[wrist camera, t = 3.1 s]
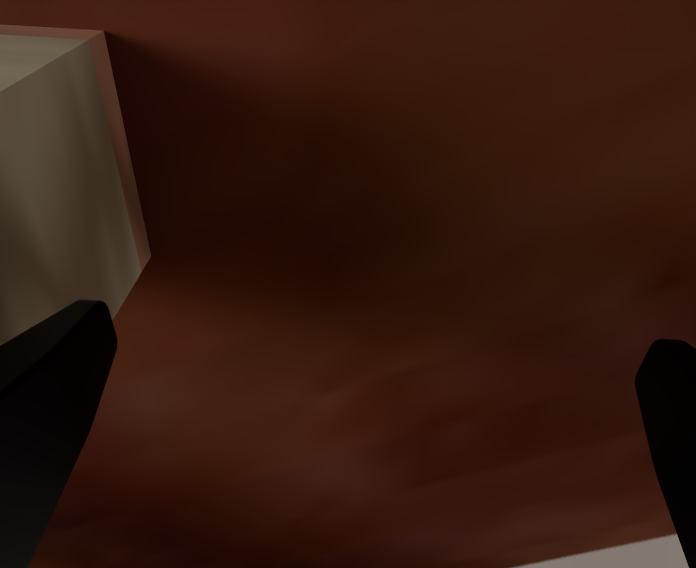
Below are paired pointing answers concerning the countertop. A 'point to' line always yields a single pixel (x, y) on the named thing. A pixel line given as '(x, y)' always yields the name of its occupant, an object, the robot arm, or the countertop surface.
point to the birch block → (63, 178)
